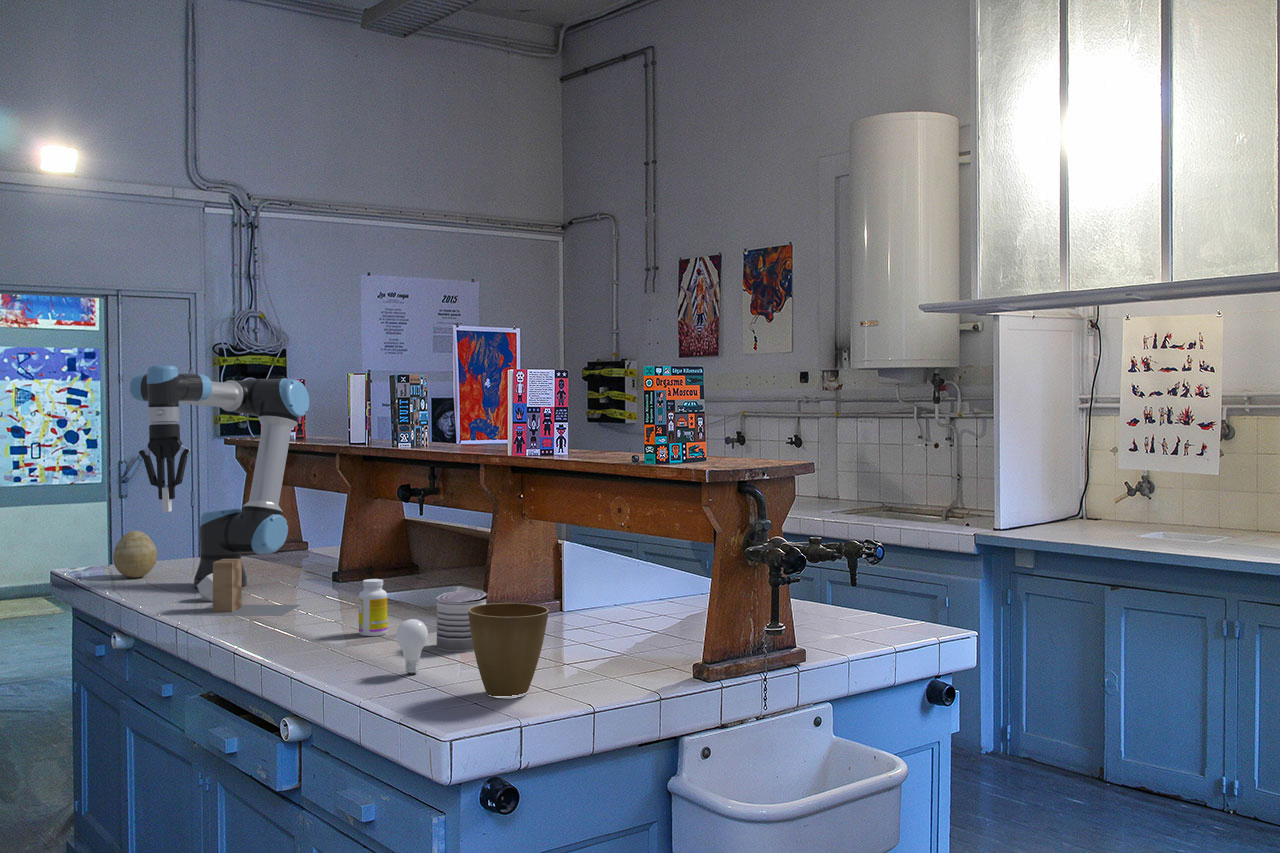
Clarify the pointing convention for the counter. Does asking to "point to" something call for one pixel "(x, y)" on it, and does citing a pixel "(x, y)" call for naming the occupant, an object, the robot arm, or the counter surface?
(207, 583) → the die
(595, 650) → the counter surface
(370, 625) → the supplement bottle
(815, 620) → the counter surface
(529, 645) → the plant pot
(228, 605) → the label block
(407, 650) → the lightbulb
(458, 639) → the can
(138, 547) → the fossilized egg
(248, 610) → the mat
